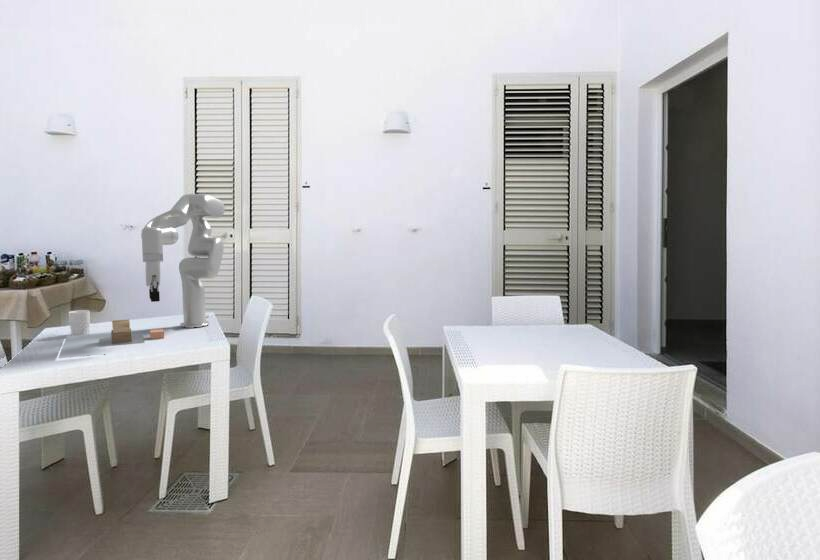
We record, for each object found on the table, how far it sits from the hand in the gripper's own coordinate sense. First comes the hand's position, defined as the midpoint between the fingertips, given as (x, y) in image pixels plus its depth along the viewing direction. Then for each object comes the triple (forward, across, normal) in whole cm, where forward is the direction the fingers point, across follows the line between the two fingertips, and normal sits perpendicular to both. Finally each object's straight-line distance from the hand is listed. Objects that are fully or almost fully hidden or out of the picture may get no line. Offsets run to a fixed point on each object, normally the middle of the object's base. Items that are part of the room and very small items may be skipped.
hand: (154, 299), depth 230 cm
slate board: (+17, -1, -12) cm, 21 cm away
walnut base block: (+16, -1, -12) cm, 20 cm away
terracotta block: (+17, -1, 0) cm, 17 cm away
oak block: (+12, -1, -12) cm, 17 cm away
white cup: (+17, -27, -28) cm, 42 cm away
